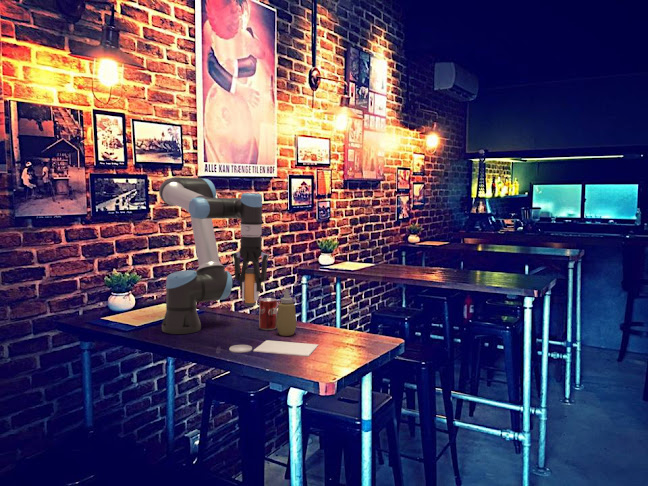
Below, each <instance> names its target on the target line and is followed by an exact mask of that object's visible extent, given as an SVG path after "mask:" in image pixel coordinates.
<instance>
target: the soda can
mask: <svg viewBox="0 0 648 486" xmlns="http://www.w3.org/2000/svg"><path fill="white" fill-rule="evenodd" d="M258 305H259V306H258V307H259V308H258V309H259V311H258V315H259V318H258V328H259V329H261V331H273V330H277V326H276V322H277V313H278V300H277V299H276V298H272V297H265V298H260V300H259V303H258Z"/></svg>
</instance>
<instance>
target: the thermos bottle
mask: <svg viewBox="0 0 648 486" xmlns="http://www.w3.org/2000/svg"><path fill="white" fill-rule="evenodd" d="M254 283H256V277H255V272H254V267H247V268H246V269H245V300H244V306H245V307H256V305H257V303H256V302H257V301H254Z"/></svg>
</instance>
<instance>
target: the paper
mask: <svg viewBox="0 0 648 486" xmlns="http://www.w3.org/2000/svg"><path fill="white" fill-rule="evenodd" d="M317 346H318V347H319V344H314V343H305V342H304V343H302V342H292V341H291V342H290V341H279V340H267V339H266V340H265V341H263V342H262V343H261V344H260V345H258V346H257V347H256V348H254V349H252V351H253V352H254V353H257V352H258V353H268V354H279V355H287V356H288V355H289V356H301V357H310V356H311V355H312V354H313V353H314V351H315V350H317V348H318V347H317Z"/></svg>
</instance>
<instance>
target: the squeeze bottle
mask: <svg viewBox="0 0 648 486" xmlns="http://www.w3.org/2000/svg"><path fill="white" fill-rule="evenodd" d="M296 315H297V312H296V304H294V299H293V298H292V297H291V296H290V290H289V288H285V290H284V295H283V297H281V298H280V303H279V304H277V322H276V326H277V328H276V330H277V332H278V334H279V336H283V337H288V336H293V335H294V334H295V331H296V329H297V325H298V324H297V316H296Z"/></svg>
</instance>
